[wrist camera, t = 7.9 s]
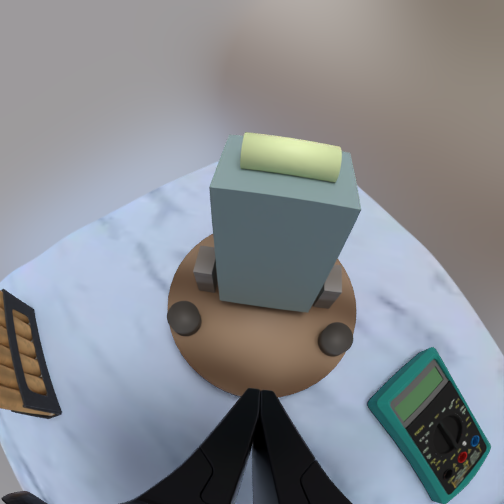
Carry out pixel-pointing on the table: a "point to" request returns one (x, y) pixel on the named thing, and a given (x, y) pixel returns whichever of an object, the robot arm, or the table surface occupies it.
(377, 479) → the table surface
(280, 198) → the post
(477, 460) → the digital multimeter
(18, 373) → the ammunition clip
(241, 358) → the levelling base
